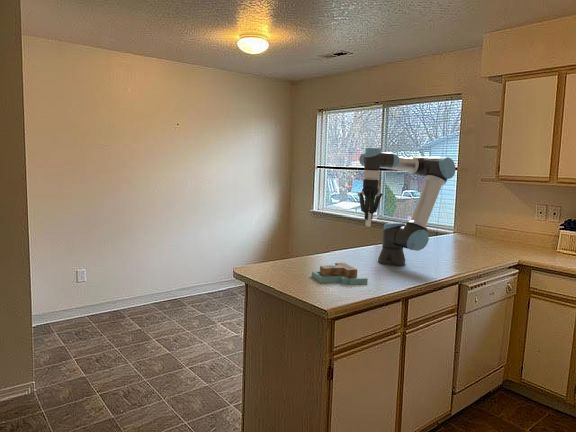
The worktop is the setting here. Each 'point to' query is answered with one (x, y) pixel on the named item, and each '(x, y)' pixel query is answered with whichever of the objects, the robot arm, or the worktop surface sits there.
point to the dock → (338, 279)
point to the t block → (338, 270)
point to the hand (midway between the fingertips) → (367, 226)
